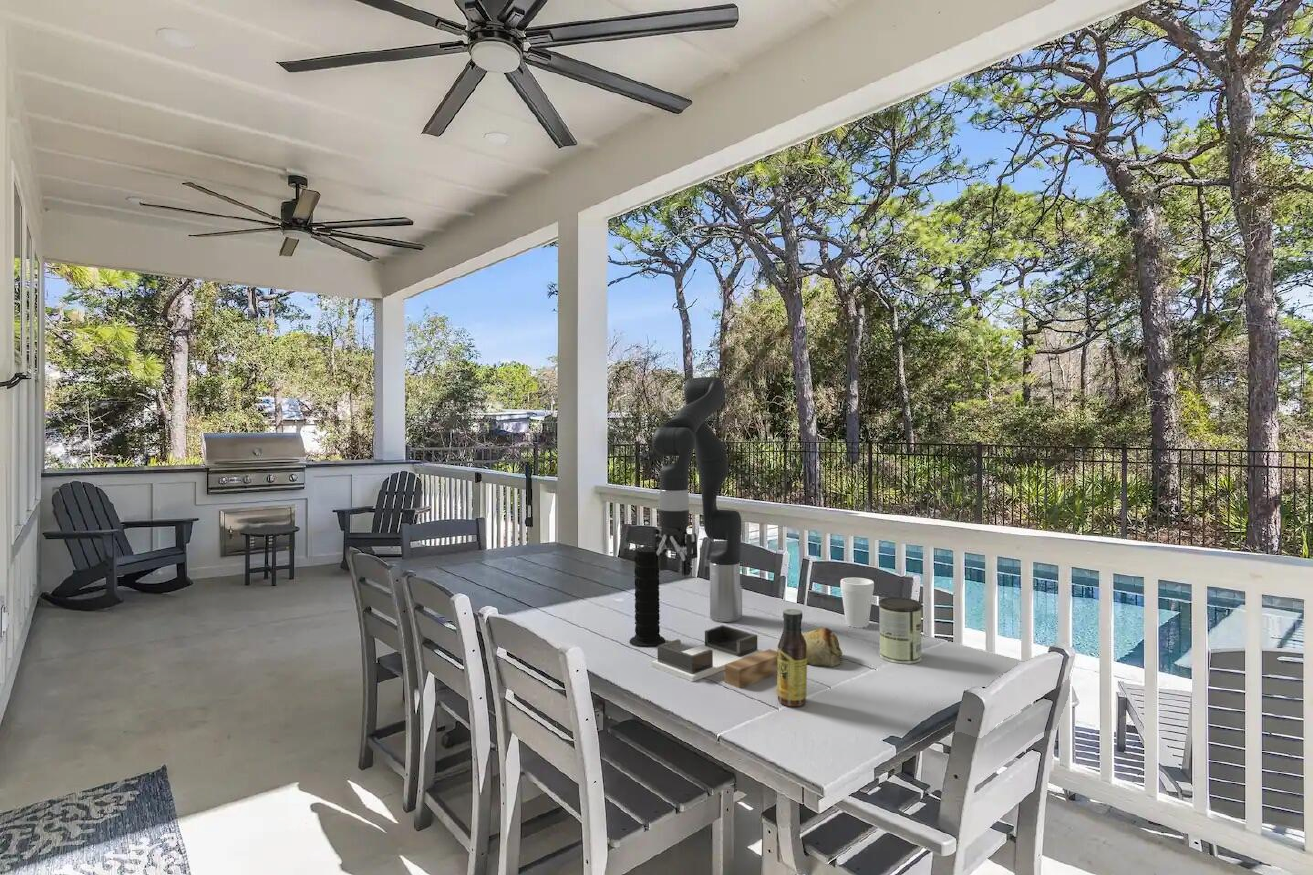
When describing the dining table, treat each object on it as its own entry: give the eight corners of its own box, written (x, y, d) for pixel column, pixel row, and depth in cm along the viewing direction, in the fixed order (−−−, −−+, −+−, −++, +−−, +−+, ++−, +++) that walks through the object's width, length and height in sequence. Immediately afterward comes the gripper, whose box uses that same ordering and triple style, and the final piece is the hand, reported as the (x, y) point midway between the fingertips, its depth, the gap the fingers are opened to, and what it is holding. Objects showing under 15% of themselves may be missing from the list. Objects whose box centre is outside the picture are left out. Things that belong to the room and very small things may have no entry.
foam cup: (862, 631, 196) (862, 586, 196) (834, 624, 203) (834, 581, 202) (880, 625, 202) (879, 581, 202) (852, 618, 209) (852, 576, 209)
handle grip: (625, 646, 185) (661, 648, 183) (624, 548, 184) (661, 549, 182) (634, 634, 195) (668, 636, 193) (633, 542, 194) (667, 543, 192)
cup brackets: (722, 639, 186) (722, 625, 186) (757, 650, 177) (757, 635, 177) (657, 661, 170) (657, 645, 169) (692, 674, 161) (692, 657, 161)
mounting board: (722, 642, 187) (722, 638, 187) (763, 655, 177) (763, 650, 177) (651, 666, 170) (651, 661, 170) (692, 681, 159) (692, 676, 159)
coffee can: (879, 648, 181) (879, 595, 181) (920, 652, 178) (920, 598, 178) (878, 661, 172) (878, 605, 171) (922, 666, 168) (922, 609, 168)
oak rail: (769, 667, 169) (769, 649, 169) (784, 672, 166) (784, 653, 166) (724, 683, 159) (724, 664, 159) (739, 689, 155) (739, 669, 155)
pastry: (852, 666, 169) (852, 634, 169) (804, 670, 167) (804, 637, 166) (828, 648, 183) (828, 618, 182) (783, 651, 180) (783, 620, 180)
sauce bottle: (773, 697, 150) (773, 606, 150) (801, 695, 151) (801, 605, 150) (781, 709, 144) (781, 615, 143) (811, 708, 144) (810, 614, 144)
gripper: (704, 509, 168) (705, 575, 168) (666, 504, 178) (666, 566, 179) (682, 511, 163) (682, 579, 163) (644, 506, 174) (644, 570, 174)
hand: (674, 572), depth 171 cm, fingers open, 8 cm apart
